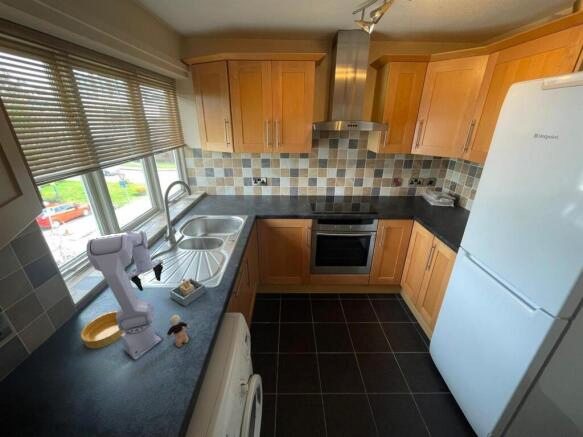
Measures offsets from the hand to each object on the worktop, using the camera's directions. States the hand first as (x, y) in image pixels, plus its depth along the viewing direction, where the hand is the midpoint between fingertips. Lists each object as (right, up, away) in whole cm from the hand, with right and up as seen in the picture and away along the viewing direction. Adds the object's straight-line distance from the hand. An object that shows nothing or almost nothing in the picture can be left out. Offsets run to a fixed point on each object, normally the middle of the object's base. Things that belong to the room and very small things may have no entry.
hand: (150, 285), depth 103 cm
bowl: (-9, -15, -12) cm, 21 cm away
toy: (+13, -6, +8) cm, 17 cm away
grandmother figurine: (+21, -17, -16) cm, 31 cm away
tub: (+13, -7, +8) cm, 17 cm away
